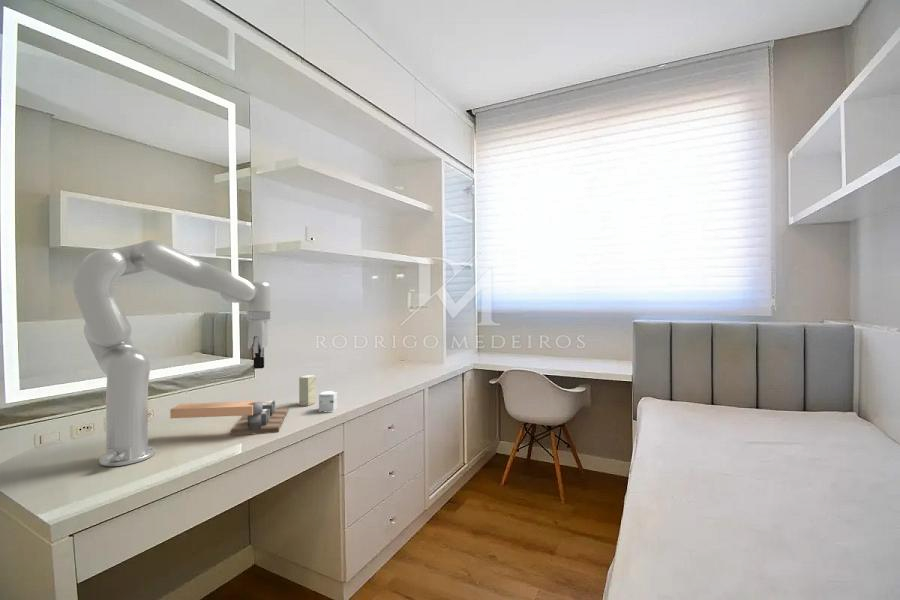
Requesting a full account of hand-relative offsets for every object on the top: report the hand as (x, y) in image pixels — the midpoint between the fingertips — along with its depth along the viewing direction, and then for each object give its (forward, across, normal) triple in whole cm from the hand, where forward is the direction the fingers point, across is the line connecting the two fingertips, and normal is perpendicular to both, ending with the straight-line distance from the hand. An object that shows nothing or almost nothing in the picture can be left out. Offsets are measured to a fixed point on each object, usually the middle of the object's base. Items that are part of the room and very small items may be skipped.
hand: (259, 368), depth 147 cm
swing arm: (+14, +5, -11) cm, 19 cm away
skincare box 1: (+21, -29, +14) cm, 38 cm away
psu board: (+21, -6, 0) cm, 22 cm away
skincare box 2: (+21, -17, +23) cm, 36 cm away
